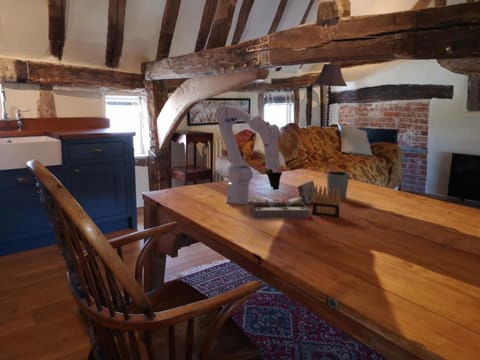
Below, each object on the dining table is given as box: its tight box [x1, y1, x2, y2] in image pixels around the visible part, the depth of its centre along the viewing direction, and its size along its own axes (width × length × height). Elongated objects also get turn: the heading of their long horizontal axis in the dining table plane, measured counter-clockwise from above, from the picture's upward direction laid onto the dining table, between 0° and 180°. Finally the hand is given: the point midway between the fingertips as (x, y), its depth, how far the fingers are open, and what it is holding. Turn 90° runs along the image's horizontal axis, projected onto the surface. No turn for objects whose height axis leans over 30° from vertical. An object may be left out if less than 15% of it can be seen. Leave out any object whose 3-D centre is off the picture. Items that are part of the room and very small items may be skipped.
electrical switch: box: [297, 180, 316, 205], centre depth 166 cm, size 9×5×9 cm, turn 141°
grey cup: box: [326, 170, 350, 201], centre depth 172 cm, size 10×10×12 cm
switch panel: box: [250, 201, 310, 219], centre depth 149 cm, size 22×12×4 cm, turn 94°
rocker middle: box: [271, 196, 287, 204], centre depth 150 cm, size 5×3×2 cm, turn 96°
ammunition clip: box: [311, 185, 341, 219], centre depth 146 cm, size 11×2×12 cm, turn 70°
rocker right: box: [287, 196, 303, 204], centre depth 151 cm, size 5×3×2 cm, turn 93°
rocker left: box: [254, 196, 270, 204], centre depth 150 cm, size 5×3×2 cm, turn 96°
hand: (274, 188), depth 149 cm, fingers open, 7 cm apart
